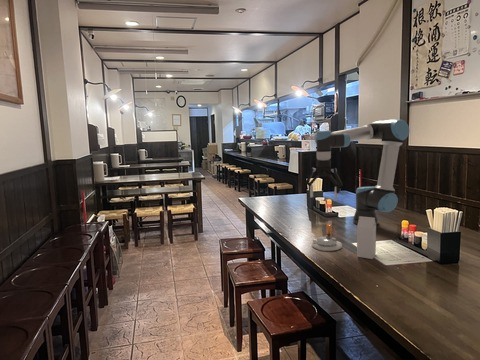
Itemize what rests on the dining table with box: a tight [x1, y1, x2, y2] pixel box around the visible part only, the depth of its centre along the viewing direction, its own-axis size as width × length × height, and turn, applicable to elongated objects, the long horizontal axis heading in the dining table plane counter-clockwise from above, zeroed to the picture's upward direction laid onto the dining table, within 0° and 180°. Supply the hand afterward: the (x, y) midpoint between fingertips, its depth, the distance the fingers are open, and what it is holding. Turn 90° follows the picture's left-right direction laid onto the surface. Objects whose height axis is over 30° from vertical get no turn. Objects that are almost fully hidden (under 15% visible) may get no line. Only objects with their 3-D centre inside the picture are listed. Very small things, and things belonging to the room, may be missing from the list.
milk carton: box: [356, 216, 377, 260], centre depth 165 cm, size 7×7×19 cm
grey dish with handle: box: [316, 223, 338, 247], centre depth 182 cm, size 10×13×8 cm
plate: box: [311, 238, 343, 252], centre depth 181 cm, size 15×15×3 cm
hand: (323, 198), depth 190 cm, fingers open, 13 cm apart
